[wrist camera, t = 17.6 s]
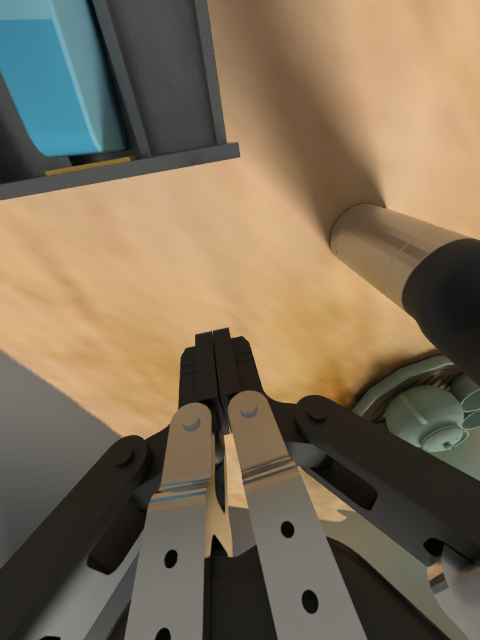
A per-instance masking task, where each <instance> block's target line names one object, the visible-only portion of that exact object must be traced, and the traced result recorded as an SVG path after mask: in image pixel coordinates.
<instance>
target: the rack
mask: <svg viewBox="0 0 480 640" xmlns="http://www.w3.org/2000/svg"><path fill="white" fill-rule="evenodd" d="M91 1H92V4H93V8H94V11H95V15H96V19H97V23H98V27H99V31H100V35H101V39H102V42H103V46H104V50H105V54H106V58H107V62H108V66H109V70H110V74H111V77H112V81H113V85H114V89H115V93H116V97H117V101H118V105H119V109H120V113H121V116H122V120H123V124H124V128H125V132H126V136H127V142H128V148H127V150H126V151H121V152H113V153H105V154H92V155H78V156H63V157H47V156H45V155H43V154H42V153H41V152H40V151H39V150H38V149H37V148H36V147H35V145H34V144H33V142H32V141H31V139H30V137H29V136H28V134H27V132H26V129H25V127H24V125H23V123H22V120H21V118H20V116H19V114H18V111H17V109H16V107H15V104H14V102H13V100H12V98H11V95H10V93H9V91H8V89H7V86H6V84H5V82H4V80H3V77H2V75H1V73H0V200H6V199H11V198H17V197H22V196H28V195H33V194H39V193H44V192H50V191H55V190H61V189H67V188H72V187H78V186H83V185H89V184H94V183H100V182H105V181H111V180H116V179H122V178H127V177H133V176H138V175H144V174H150V173H155V172H161V171H166V170H172V169H177V168H183V167H188V166H194V165H199V164H205V163H210V162H216V161H222V160H227V159H233V158H238V157H240V152H239V144H238V142H227V140H226V133H225V126H224V119H223V112H222V105H221V98H220V91H219V84H218V77H217V70H216V62H215V55H214V48H213V41H212V34H211V27H210V20H209V13H208V6H207V0H91Z"/></svg>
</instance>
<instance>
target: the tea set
mask: <svg viewBox="0 0 480 640" xmlns="http://www.w3.org/2000/svg"><path fill="white" fill-rule="evenodd" d="M352 412H354V413H356V414H357V415H359V416H361V417H363V418H365V419H367V420H368V421H370V422H372V423H374V424H376V425H378V426H379V427H381V428H383V429H385V430H387V431H389V432H390V433H392V434H394V435H396V436H398V437H400V438H401V439H403V440H405V441H407V442H409V443H411V444H412V445H414V446H416V447H418V448H420V449H422V450H423V451H425V452H427V453H428V452H438V451H443V450H449V449H454V447H455V446H457V445H458V444H460V443H462V442H463V441H464V440H465V439H466V438H467V437H468V436H469V431H467V430H469V429H473V428H477V427H480V387H479V386H478V385H477V384H476V383H475V382H473V381H472V380H471V379H470V378H469V377H468V376H467V375H466V374H465V373H463V372H462V371H461V370H460V369H459V368H458V367H457V366H456V365H455V364H454V363H452V362H451V361H450V360H449V359H448V358H447V357H446V356H445V355H437V356H434V357H431V358H428V359H425V360H422V361H419V362H417V363H414V364H411V365H408V366H405V367H402V368H400V369H398V370H397V371H395V372H394V373H392V374H391V375H389V376H388V377H386V378H385V379H383V380H382V381H380V382H379V383H377V384H376V385H374V386H373V387H371V388H370V389H368V391H367V392H366V393H365V394H364V396H363V397H362V398H361V399H360V401H359V402H358V403H357V404H356V406H355V407H354V408H353V409H352Z"/></svg>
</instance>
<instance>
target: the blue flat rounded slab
mask: <svg viewBox="0 0 480 640" xmlns="http://www.w3.org/2000/svg"><path fill="white" fill-rule="evenodd" d="M0 73H1V75H2V77H3V80H4V82H5V84H6V86H7V89H8V91H9V93H10V95H11V98H12V100H13V102H14V104H15V107H16V109H17V111H18V114H19V116H20V118H21V120H22V123H23V125H24V127H25V129H26V132H27V134H28V136H29V137H30V139H31V141H32V142H33V144H34V145H35V147H36V148H37V149H38V150H39V151H40V152H41V153H42V154H43V155H45V156H47V157H63V156H78V155H92V154H105V153H113V152H121V151H126V150H127V148H128V142H127V136H126V132H125V128H124V124H123V120H122V116H121V113H120V109H119V105H118V101H117V97H116V93H115V89H114V85H113V81H112V77H111V74H110V70H109V66H108V62H107V58H106V54H105V50H104V46H103V42H102V39H101V35H100V31H99V27H98V23H97V19H96V15H95V11H94V8H93V4H92V1H91V0H0Z"/></svg>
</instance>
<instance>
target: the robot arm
mask: <svg viewBox="0 0 480 640" xmlns="http://www.w3.org/2000/svg"><path fill="white" fill-rule="evenodd" d="M330 246H331V250H332V252H333V254H334V255H335V256H336V257H337V258H338V259H339V260H341V261H342V262H343V263H344V264H346V265H347V266H348V267H349V268H351V269H352V270H353V271H354V272H356V273H357V274H358V275H359V276H361V277H362V278H363V279H365V280H366V281H367V282H368V283H370V284H371V285H372V286H373V287H375V288H376V289H377V290H379V291H380V292H381V293H382V294H384V295H385V296H386V297H388V298H389V299H390V300H391V301H393V302H394V303H395V304H397V305H398V306H399V307H400V308H402V309H403V310H404V311H405V312H407V313H408V314H409V315H410V316H412V317H413V318H414V319H415V320H416V322H417V323H418V325H419V327H420V329H421V331H422V332H423V334H424V335H425V336H426V338H427V339H428V340H429V341H430V342H431V343H432V344H433V345H434V346H435V347H436V348H437V349H438V350H439V351H440V352H442V353H443V354H444V355H445V356H446V357H447V358H448V359H449V360H450V361H451V362H452V363H454V364H455V365H456V366H457V367H458V368H459V369H460V370H461V371H462V372H463V373H465V374H466V375H467V376H468V377H469V378H470V379H471V380H472V381H473V382H475V383H476V384H477V385H478V386H479V387H480V240H477V239H474V238H471V237H468V236H465V235H462V234H459V233H456V232H453V231H450V230H447V229H444V228H441V227H438V226H435V225H433V224H430V223H427V222H425V221H422V220H419V219H416V218H413V217H410V216H407V215H404V214H401V213H398V212H395V211H392V210H389V209H385V208H382V207H379V206H376V205H373V204H369V203H364V204H359V205H356V206H354V207H352V208H350V209H349V210H347V211H346V212H345V213H344V214H343V215H341V217H340V218H339V219H338V220H337V222H336V224H335V225H334V227H333V230H332V232H331V237H330ZM180 368H181V369H180V384H179V405H178V411H177V412H176V413H175V414H174V416H173V417H172V419H171V423H170V424H169V425H168V426H167V427H166V428H165V429H163V430H162V431H160V432H158V433H156V434H154V435H153V436H151V437H149V438H147V439H145V440H144V439H143V438H142V437H140V436H137V435H130V436H126V437H124V438H122V439H120V440H118V441H117V442H115V443H114V444H113V445H112V446H111V447H110V448H109V449H108V450H107V451H106V452H105V454H104V455H103V456H102V457H101V458H100V459H99V460H98V461H97V462H96V464H95V465H94V466H93V467H92V468H91V469H90V470H89V471H88V473H87V474H86V475H85V476H84V477H83V478H82V479H81V480H80V481H79V482H78V484H77V485H76V486H75V487H74V488H73V489H72V490H71V491H70V492H69V494H68V495H67V496H66V497H65V498H64V499H63V500H62V501H61V502H60V503H59V505H58V506H57V507H56V508H55V509H54V510H53V511H52V512H51V514H50V515H49V516H48V517H47V518H46V519H45V520H44V521H43V522H42V523H41V525H40V526H39V527H38V528H37V529H36V530H35V531H34V532H33V534H32V535H31V536H30V537H29V538H28V539H27V540H26V541H25V542H24V543H23V545H22V546H21V547H20V548H19V549H18V550H17V551H16V552H15V553H14V555H13V556H12V557H11V558H10V559H9V560H8V561H7V562H6V564H5V565H4V566H3V567H2V568H1V569H0V640H83V639H84V637H85V636H86V634H87V633H88V631H89V629H90V628H91V626H92V624H93V623H94V621H95V620H96V618H97V617H98V615H99V613H100V612H101V610H102V609H103V607H104V606H105V604H106V602H107V600H108V599H109V597H110V596H111V594H112V593H113V591H114V590H115V588H116V586H117V585H118V583H119V581H120V580H121V578H122V576H123V575H124V574H125V572H126V571H127V569H128V567H129V566H130V564H131V563H132V561H133V559H134V558H135V556H136V555H137V553H138V551H139V550H140V554H139V560H138V565H137V571H136V577H135V582H134V588H133V593H132V599H131V600H130V602H129V603H128V604H127V605H126V607H125V608H124V609H123V611H122V612H121V614H120V615H119V617H118V618H117V620H116V622H115V623H114V625H113V627H112V628H111V631H110V632H109V634H108V636H107V637H106V639H105V640H451V639H450V638H448V636H447V635H446V634H444V633H443V632H442V631H441V630H440V629H439V628H438V627H437V626H436V625H435V624H434V623H433V622H432V621H430V620H429V619H428V618H427V617H426V616H425V615H424V614H423V613H422V612H421V611H420V610H419V609H417V608H416V607H415V606H414V605H413V604H412V603H411V602H410V601H409V600H408V599H407V598H406V597H405V596H404V595H402V594H401V593H400V592H399V591H398V590H397V589H396V588H395V587H394V586H393V585H392V584H390V583H389V582H388V581H387V580H386V579H385V578H384V577H383V576H382V575H381V574H380V573H379V572H378V571H377V570H376V569H374V568H373V567H372V566H371V565H370V564H369V563H368V562H367V561H366V560H365V559H363V558H362V557H361V556H360V555H359V554H358V553H356V552H355V551H354V550H352V549H351V548H349V547H348V546H346V545H344V544H343V543H341V542H339V541H337V540H334V539H332V538H330V537H326V536H325V534H324V531H323V529H322V526H321V524H320V521H319V519H318V516H317V514H316V511H315V509H314V507H313V504H312V502H311V499H310V497H309V494H308V492H307V489H306V487H305V484H304V482H303V479H302V477H301V474H300V472H299V470H298V468H297V466H300V467H301V468H302V469H303V470H304V471H305V472H306V473H308V474H309V475H310V476H311V477H313V478H314V479H315V480H317V481H318V482H319V483H320V484H322V485H323V486H324V487H326V488H327V489H328V490H329V491H331V492H332V493H333V494H334V495H336V496H337V497H338V498H340V499H341V500H342V501H343V502H345V503H346V504H347V505H349V506H350V507H351V508H352V509H354V510H355V511H356V512H358V513H359V514H360V515H361V516H363V517H364V518H365V519H367V520H368V521H369V522H370V523H372V524H373V525H374V526H376V527H377V528H378V529H379V530H381V531H382V532H384V533H385V534H386V535H387V536H388V537H390V538H391V539H393V540H394V541H395V542H396V543H397V544H399V545H400V546H401V547H403V548H404V549H405V550H406V551H408V552H409V553H410V554H412V555H413V556H414V557H415V558H417V559H418V560H419V561H421V562H422V563H423V564H425V565H426V566H427V567H428V569H427V570H428V571H427V572H428V579H429V584H430V587H431V590H432V592H433V594H434V596H435V598H436V600H437V602H438V603H439V605H440V606H441V608H442V609H443V611H444V612H445V613H446V614H447V616H448V617H449V618H451V620H452V621H453V622H454V623H455V624H456V625H457V626H458V627H459V628H460V629H461V630H462V631H463V632H464V634H465V635H466V636H467V637H468V639H469V640H480V481H479V480H477V479H475V478H473V477H471V476H469V475H468V474H466V473H464V472H462V471H460V470H458V469H456V468H455V467H453V466H451V465H449V464H447V463H445V462H444V461H442V460H440V459H438V458H436V457H434V456H433V455H431V454H429V453H427V452H425V451H423V450H422V449H420V448H418V447H416V446H414V445H412V444H411V443H409V442H407V441H405V440H403V439H401V438H400V437H398V436H396V435H394V434H392V433H390V432H389V431H387V430H385V429H383V428H381V427H379V426H378V425H376V424H374V423H372V422H370V421H368V420H367V419H365V418H363V417H361V416H359V415H357V414H356V413H354V412H352V411H350V410H348V409H346V408H345V407H343V406H341V405H339V404H337V403H335V402H334V401H332V400H330V399H328V398H326V397H323V396H319V395H309V396H306V397H304V398H302V399H301V400H299V402H298V403H297V404H292V403H282V402H277V401H275V400H273V399H271V398H270V397H268V396H267V395H266V394H265V392H264V391H263V388H262V385H261V381H260V378H259V375H258V371H257V368H256V364H255V361H254V357H253V354H252V351H251V347H250V344H249V342H248V341H247V340H246V339H245V338H244V337H243V336H240V337H236V338H231V337H230V332H229V327H228V328H223V329H219V330H214V331H213V334H212V331H210V332H205V333H200V334H196V335H195V346H194V347H189V348H186V349H185V351H184V353H183V354H182V356H181V362H180ZM229 427H230V430H231V433H233V437H234V442H235V446H236V451H237V455H238V459H239V464H240V468H241V473H242V480H243V485H244V490H245V494H246V499H247V503H248V508H249V512H250V517H251V521H252V525H253V530H254V534H255V539H256V543H257V545H255V546H253V547H252V548H250V549H249V550H247V551H246V552H244V553H243V554H241V555H239V556H238V557H233V554H232V537H231V529H230V523H229V517H228V496H227V470H226V454H225V443H224V435H227V434H230V432H229ZM140 548H141V549H140ZM177 557H178V558H177Z"/></svg>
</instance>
